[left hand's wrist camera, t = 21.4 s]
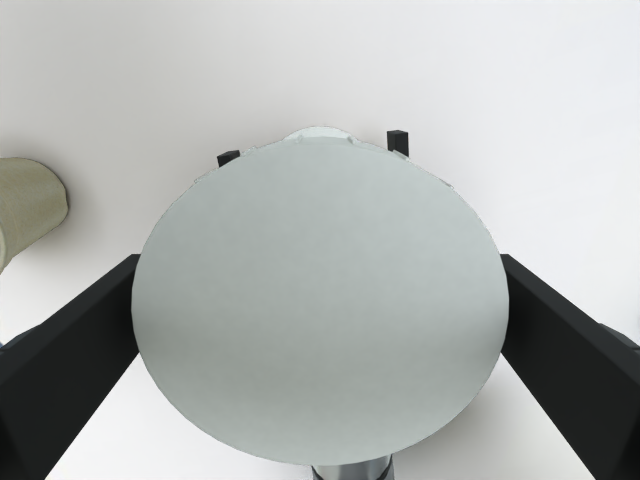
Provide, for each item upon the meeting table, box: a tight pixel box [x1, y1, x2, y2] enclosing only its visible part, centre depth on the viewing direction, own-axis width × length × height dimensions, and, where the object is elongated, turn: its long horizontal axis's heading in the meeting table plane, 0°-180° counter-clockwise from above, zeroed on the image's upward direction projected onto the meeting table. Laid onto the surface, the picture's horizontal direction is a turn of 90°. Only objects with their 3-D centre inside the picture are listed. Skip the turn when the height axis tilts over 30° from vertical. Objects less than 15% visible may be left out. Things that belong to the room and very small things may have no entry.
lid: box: [131, 135, 509, 466], centre depth 11 cm, size 11×11×2 cm
